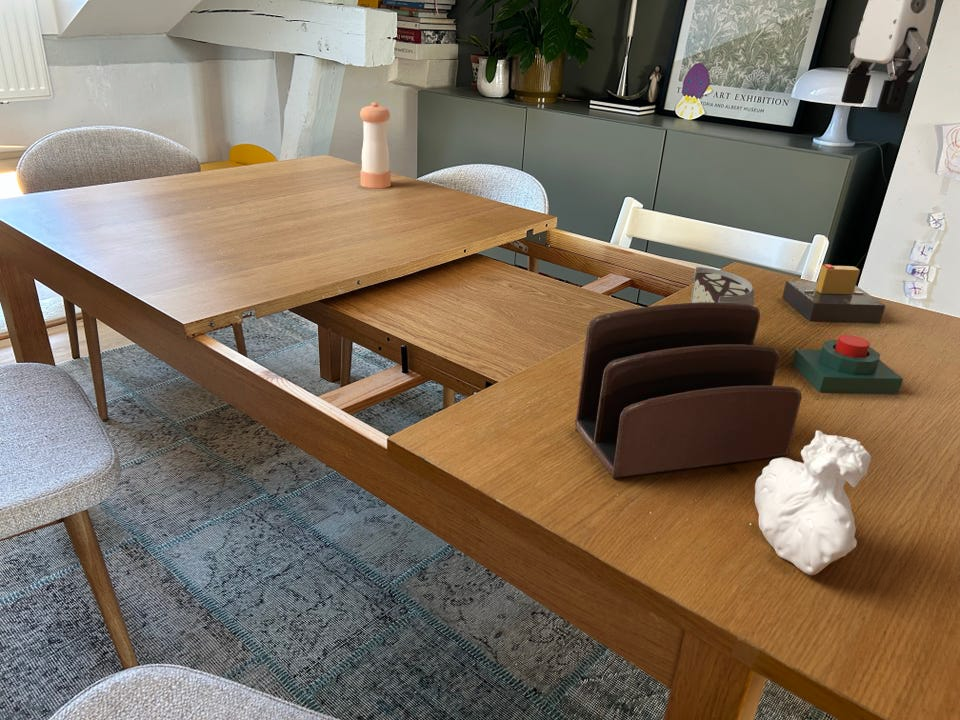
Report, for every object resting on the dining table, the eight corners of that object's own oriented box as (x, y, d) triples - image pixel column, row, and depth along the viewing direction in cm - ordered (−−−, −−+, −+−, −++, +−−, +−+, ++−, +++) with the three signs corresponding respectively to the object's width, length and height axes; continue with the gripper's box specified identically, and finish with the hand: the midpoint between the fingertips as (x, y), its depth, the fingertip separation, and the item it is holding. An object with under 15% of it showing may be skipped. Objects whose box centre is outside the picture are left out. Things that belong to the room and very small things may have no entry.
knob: (847, 290, 115) (854, 264, 113) (853, 294, 113) (860, 268, 111) (815, 289, 115) (822, 263, 113) (820, 293, 113) (827, 267, 111)
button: (856, 347, 93) (860, 334, 92) (871, 359, 90) (875, 346, 89) (829, 346, 93) (833, 334, 92) (843, 359, 90) (847, 346, 89)
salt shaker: (393, 188, 177) (393, 104, 168) (362, 188, 175) (361, 104, 166) (388, 181, 183) (387, 100, 175) (358, 181, 181) (356, 100, 173)
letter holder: (572, 428, 79) (587, 305, 73) (733, 411, 84) (759, 295, 78) (612, 481, 70) (632, 347, 64) (788, 458, 75) (823, 332, 69)
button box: (864, 365, 97) (872, 338, 95) (898, 394, 90) (908, 365, 88) (791, 364, 96) (798, 336, 95) (819, 392, 89) (827, 363, 87)
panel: (847, 299, 120) (852, 281, 119) (879, 323, 111) (885, 304, 110) (781, 298, 119) (786, 279, 118) (809, 321, 110) (814, 302, 109)
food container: (754, 374, 93) (771, 300, 89) (705, 372, 93) (721, 298, 89) (725, 335, 104) (740, 268, 100) (682, 333, 104) (695, 265, 100)
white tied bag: (830, 611, 59) (945, 520, 56) (772, 569, 56) (890, 470, 53) (763, 518, 70) (857, 437, 67) (712, 478, 67) (807, 392, 64)
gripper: (977, -29, 89) (930, 118, 97) (898, -25, 105) (863, 101, 112) (918, -34, 89) (875, 114, 96) (847, -29, 104) (815, 98, 112)
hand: (869, 107), depth 104 cm, fingers open, 9 cm apart
